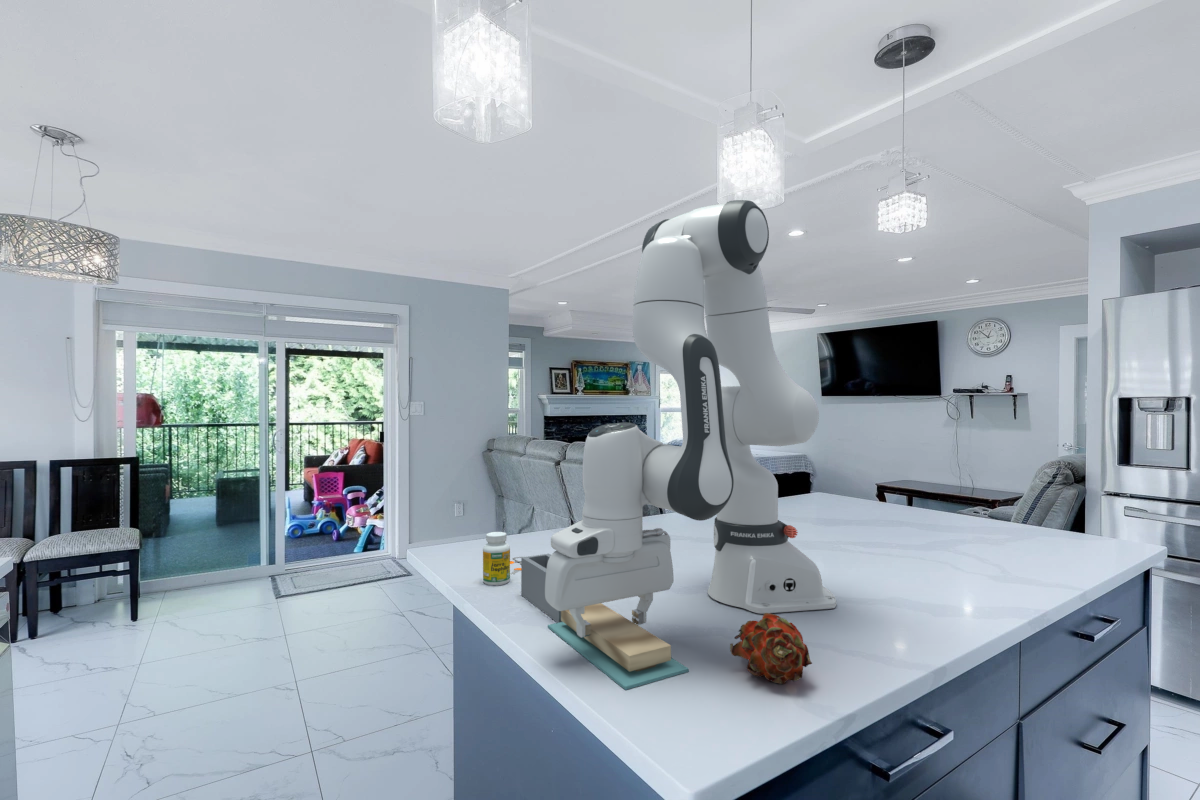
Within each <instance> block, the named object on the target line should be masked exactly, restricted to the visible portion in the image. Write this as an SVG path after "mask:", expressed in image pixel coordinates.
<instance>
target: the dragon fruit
mask: <svg viewBox="0 0 1200 800" xmlns="http://www.w3.org/2000/svg"><path fill="white" fill-rule="evenodd" d="M737 632H739V633H738V634H737V635H735V636H734V639H735V640H737V639H739V640H740V641H738V642H736V643H735V644H734V643H729V650H730V651H729V652H730V654H731V655H732V656H733V657H739V658H742V659H745V660H748V663H747V667H746V668H747V671H748V672H749V673H750V674H751V675H753V677H756V678H757V677H763V676H764V677H765V679H767V681H770V682H772V683H775V684H776V683H777V684H781V685H782V684H783V685H784V684H786V683H787V681H791V682H795V681H796V682H797V681H799V680H800V679H802V678H803V672H804V668H807V666H809V665H811V664H813V662H812V661H811V658H810V653H809V648H808V645H807V644H806V643H805V642H804V638H803V635H802V633H801V631H799V629H798V628H797V626H796V625H795V624H794V623H793V622H792V621H791V622H789V621H788V620H787V619H786V618H783V617H781V616H779V615H777V614H773V613H763V615H762V618H761V619H760V620H759V621H758V620H748V621H747V622H746V623H744V624H741V626H740V628H739V629H738V631H737Z"/></svg>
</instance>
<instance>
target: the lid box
mask: <svg viewBox="0 0 1200 800" xmlns="http://www.w3.org/2000/svg"><path fill="white" fill-rule="evenodd" d="M551 555H552V553H551V554H550V553H544V554H543V553H542V554H536V555H531V556H520V557H521V558H520V561H521V564H520V566H521V567H520V568H521V571H520V572H521V577H520V579H521V583H520V585H521V587H520V590H521V591H520V596H522V597H523V598H524V599H526V600H527V601H528V602H529V603H530V604H532V605H534V607H536V608H538V609H539V610H540V611H542V612H543V614H546V615H547V616H548V617H549V618H550V619H552V620H553V621H554V622H555V623H559V622H562V621H561V611H558V610H556V609H555V608H553V607H552V606H551V605H550V604H549V603H548V602H547V601H546V598H545V579H546V570H547V563H548V560H549V558H550V556H551Z"/></svg>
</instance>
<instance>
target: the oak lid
mask: <svg viewBox="0 0 1200 800" xmlns="http://www.w3.org/2000/svg"><path fill="white" fill-rule="evenodd" d="M581 616H582V618H583V620H586V621H587V622H589V623H590V624H591V630H590V631H591V635H590V636H586V637H584V638H585V639H586V640H588V641H589V642H590V643H592V644H593V645H595V646H596V647H597V648H599V649H600V650H601V651H603V652H604V653H605V654H607V655H608V656H609V657H611V658H612V659H613V660H615V661H616V662H617V663H619V664H620V665H621V666H623V667H624V668H625V669H627V670H628V671H629V672H630V671H634V670H635V671H641V670H644V669H648V668H652V667H655V666H656V664H659V663H663V662H667V661H670V660H671V658H672V645H671V644H669V643H668V642H667V641H665V640H663V639H662V638H659V637H658V636H656V635H655V634H653V633H651V632H650V631H648V630H646V629H645V628H643V627H641V626H640V625H637V624H636V623H633V621H631V620H630V619H628V618H626V617H625V616H623V615H621V614H620V613H618V612H616V611H614V610H613V609H611V608H610V607H608V606H606V605H605V604H603V603H599V604H594V605H589V606H585V613H584V614H581ZM561 621H562V622H564V623H565V624H566V625H568V626H569V627H570V628H572V629H573V630H574V631H576V622H575V620H574V618H573V617H572V615H571V613H570V611H569V610H564V611H561Z"/></svg>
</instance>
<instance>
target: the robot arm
mask: <svg viewBox="0 0 1200 800" xmlns="http://www.w3.org/2000/svg"><path fill="white" fill-rule="evenodd" d="M763 211H764V210H762V209H761V208H760V206H758V205H757V204H756V203H755V202H754V201H751V200H746V199H743V200H742V199H741V200H740V199H739V200H737V199H736V200H729V201H727V202H726V203H719V204H712V205H707V206H702V207H698V208H694V209H692V210H691V211H688V212H685V213H683V214H679V215H677V216H675V217H673V218H670V219H669V218H668V219H663V220H661V221H658V222H657V223H655V224H654V225H653V226H651V227H650V228H649V229H648V230H647V231H646V234H645V235H644V238H643V240H642V241H643V242H642V246H641V256H640V260H639V265H638V268H637V274H636V279H635V286H634V294H633V304H632V305H633V307H632V308H633V309H632V321H631V322H632V334H633V341H634V344H635V346H636V348H637V349H638V351H639V352H640V354H642V355H643V356H644V357H645V358H646V359H648V360H649V362H651V363H653V364H655V365H657V366H658V367H660V368H662V369H664V370H665V371H667V372H668V373H669V374H670V376H672V378H673V379H674V380H675V382H676V385H677V387H678V391H679V396H680V397H679V398H680V399H679V400H680V413H681V414H680V415H681V427H682V428H681V429H682V431H681V432H682V444H681V445H680V446H679V445H673V444H669V443H666V444H665V443H663V442H662V441H659V440H658V439H654V438H653V437H651V436H649V435H647V434H646V433H645V432H643V431H642V430H640V428H639V427H638V425H637V424H635V423H633V422H625V421H623V422H617V423H616V422H615V423H607V424H602V425H599V426H597V427H595V428H593V429H592V430H590V432H588V434H587V435H586V436H587V437H586V438H585V441H584V442H585V443H584V448H583V455H582V457H583V458H582V471H581V472H582V487H583V492H584V504H583V507H582V513H581V514H582V515H581V517H582V519H581V520H579V521H577V522H576V523H572V525H570V526H567V527H565V528H563V529H561V530H559V531H556V532H555V533H553V534H552V535H551V537H550V547H551V548H552V549H554V550H555V551H554V552H553V553H551V556H550V558H549V560H548V563H547V570H546V579H545V598H546V601H547V602H548V603H549V604H550V605H551V606H552V607H553V608H555V609H556V610H558V611H564V610H569V611H570V613H571V615H572V617H573V618H574V620H575V622H576V632H577V635H578V636H580V637H581V638H582V637H586V636H590V635H591V631H590V630H591V624H590V623H589V622H587V621H586V620H583V618H582V616H581V614H584V613H585V606H589V605H594V604H599V603H602V604H603V603H608V602H613V601H614V602H615V601H620V600H624V599H629V598H630V599H631V598H633V597H638V598H639V601H638V603H637V606H636V608H635V609H632V610H631V615H632V616H631V620H632V621H631V622H633V623H635V624H636V625H638V626H640V625H642V624H646V623H647V612H648V611H649V609H650V606H651V605H652V603H653V601H654V594H655V593H660V592H664V591H669V590H670V589H671V588H672V585H673V584H674V568H673V567H674V566H673V559H672V558H673V557H672V553H671V536H670V534H669V533H668V532H667V531H666V530H664V529H663V528H662V527H661V528H660V527H655V528H653V529H643V525H644V523H643V514H644V513H643V507H644V506H645V505H650V506H655V507H656V508H660V509H664V510H667V511H672V512H676V514H679V515H682V516H684V517H686V518H689V519H691V520H695V521H706V520H709V519H711V518H713V517H715V518H714V523H713V545H714V548H715V552H714V554H715V555H714V562H713V568H712V574H711V579H710V582H709V587H708V589H707V593H708V594H707V595H709V597H710V598H711V599H713V600H714V601H717V602H720V603H722V604H725V605H729V606H732V607H737V608H741V609H744V610H747V611H750V612H753V613H756V614H764V613H770V614H773V613H775V614H776V613H788V612H802V611H815V610H816V611H817V610H828V609H829V610H830V609H835V608H836V606H837V598H836V596H835V595H834V593H833V592H832V591H830V590H829V589H828V588H826V587H825V586H824V585H823V580H822V575H821V572H820V569H819V568H818V566H817V564H816V563H815V562H814V561H813V560H812V559H811V558H809V557H808V556H807V555H806V554H804V552H802V551H801V550H800V549H798V548H797V547H796V546H795V545H794V544H792V543H791V542H790V541H788V540H789V538H790V539H795V538H796V537H797V536H798V533H799V532H798V529H796V527H794V526H793V525H791V524H790V525H789V524H786V523H784V522H782V521H781V520H779V484H778V480H777V479H776V477H775V475H774V473H773V472H772V471H770V469H768V468H766V467H765V466H763V465H761V464H760V463H759V462H758V461H757V460H756V459H755V456H753V453H752V451H751V446H762V447H763V446H765V447H767V446H768V447H784V446H785V447H786V446H793V445H800V444H804V443H807V442H808V441H809V440H810V439H811V438H812V436H813V435H814V434H815V432H816V430H817V428H818V425H819V420H820V413H819V407H818V404H817V401H816V400H815V398H814V396H812V394H811V393H810V391H809V390H806V389H805V387H804V388H803V387H802V386H800V385H799V384H798V383H797V382H795V380H794V379H792V377H790V376H789V374H788V373H787V371H786V370H785V369H784V368H783V365H782V364H781V363H780V361H779V358H778V357H777V354H776V352H775V348H774V343H773V339H772V333H771V326H770V318H769V306H768V300H767V293H766V287H765V281H764V278H763V274H762V271H761V266H760V262H761V261H762V259H763V258H764V256H765V253H766V251H767V248H768V245H769V238H770V231H769V229H770V228H769V224H768V221H767V220H768V219H767V217H766V215H765V213H764V212H763ZM705 323H706V325H705ZM720 366H721V367H723V368H725V369H727V370H729V371H730V372H731V373H732V374H733V375H734V376H735V378H736V380H737V381H738V383H739V385H736V386H735V385H734V386H731V385H730V386H727V385H726V386H722V381H721V370H720Z"/></svg>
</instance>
